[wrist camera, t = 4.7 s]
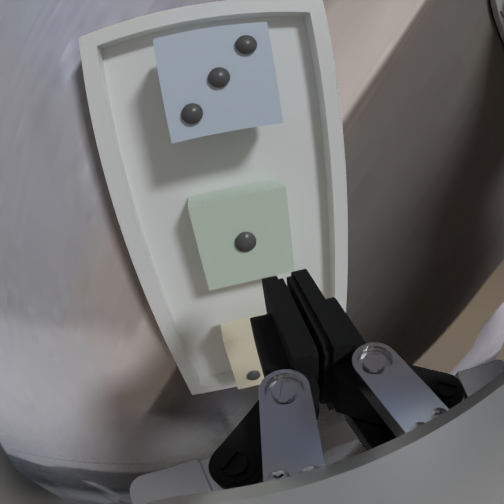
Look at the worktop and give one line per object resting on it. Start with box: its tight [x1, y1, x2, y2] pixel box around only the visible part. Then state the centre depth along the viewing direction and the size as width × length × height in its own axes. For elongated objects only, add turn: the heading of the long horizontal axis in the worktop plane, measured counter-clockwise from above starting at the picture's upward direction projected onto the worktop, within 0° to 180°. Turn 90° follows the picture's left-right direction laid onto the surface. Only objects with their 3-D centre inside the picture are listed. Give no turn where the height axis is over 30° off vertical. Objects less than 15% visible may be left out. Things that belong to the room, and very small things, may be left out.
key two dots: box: [220, 313, 267, 389], centre depth 21 cm, size 5×5×2 cm
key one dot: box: [188, 179, 294, 291], centre depth 18 cm, size 5×5×2 cm
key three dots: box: [153, 22, 283, 143], centre depth 13 cm, size 5×5×2 cm
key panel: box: [79, 0, 348, 395], centre depth 19 cm, size 14×28×2 cm, turn 9°
